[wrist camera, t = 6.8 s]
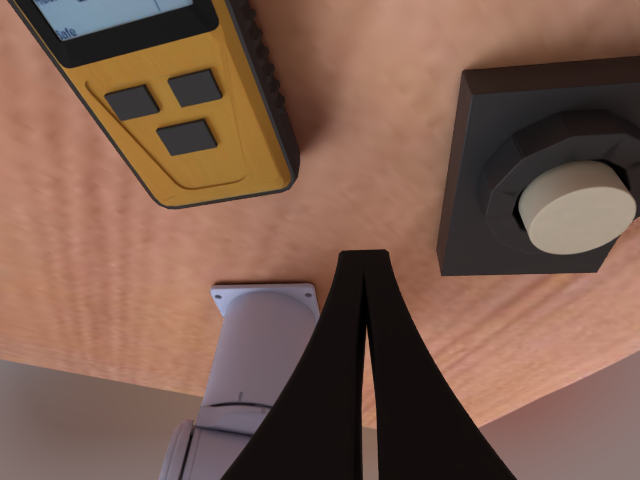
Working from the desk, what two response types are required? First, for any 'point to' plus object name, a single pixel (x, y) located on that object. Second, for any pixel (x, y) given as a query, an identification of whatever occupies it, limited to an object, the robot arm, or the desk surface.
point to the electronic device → (175, 92)
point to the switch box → (532, 157)
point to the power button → (576, 207)
